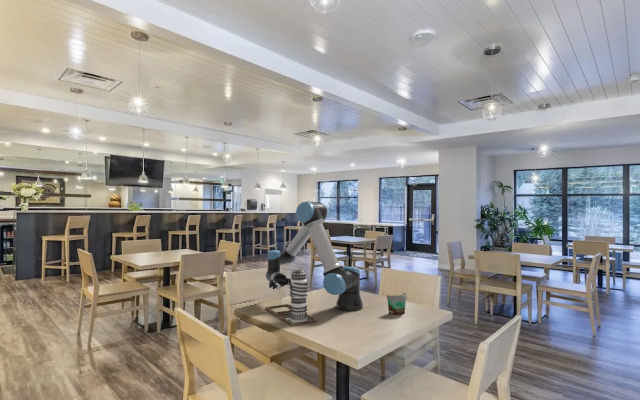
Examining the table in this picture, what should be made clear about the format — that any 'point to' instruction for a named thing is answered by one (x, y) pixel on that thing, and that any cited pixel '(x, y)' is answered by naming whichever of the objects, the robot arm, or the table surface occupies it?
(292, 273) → the decorative candle
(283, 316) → the brown flat rectangular frame
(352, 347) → the table surface
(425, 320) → the table surface
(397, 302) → the food container
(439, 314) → the table surface
